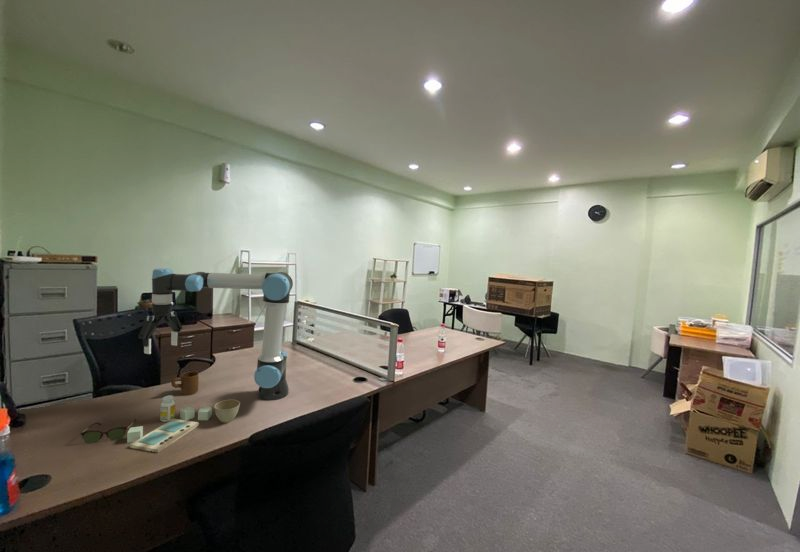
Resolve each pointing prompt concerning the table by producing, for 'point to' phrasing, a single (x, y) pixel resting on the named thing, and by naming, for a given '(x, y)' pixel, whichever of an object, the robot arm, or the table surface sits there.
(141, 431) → the block
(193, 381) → the mug
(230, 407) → the beige bowl
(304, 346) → the table surface
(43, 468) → the table surface
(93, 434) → the sunglasses
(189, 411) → the block
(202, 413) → the block
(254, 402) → the table surface
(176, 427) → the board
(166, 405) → the supplement bottle
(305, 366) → the table surface
